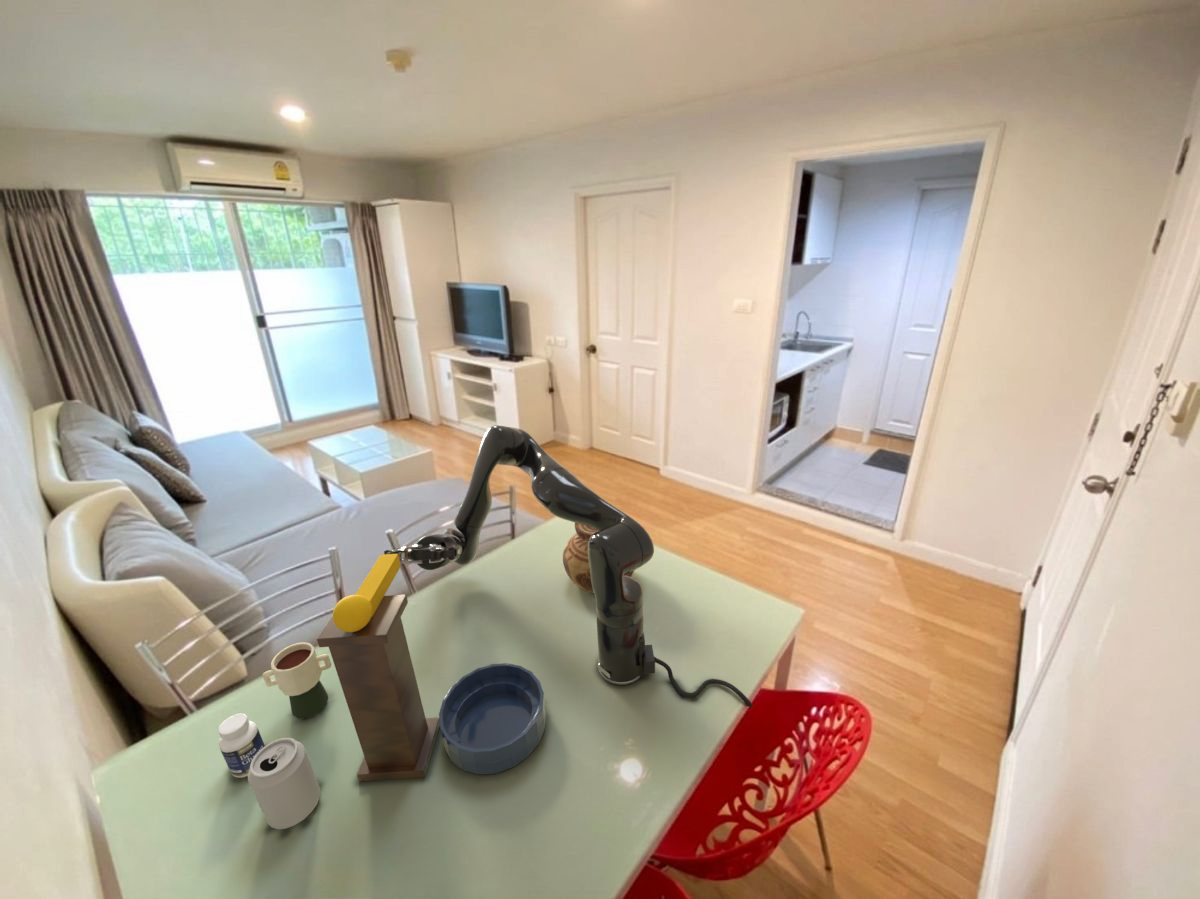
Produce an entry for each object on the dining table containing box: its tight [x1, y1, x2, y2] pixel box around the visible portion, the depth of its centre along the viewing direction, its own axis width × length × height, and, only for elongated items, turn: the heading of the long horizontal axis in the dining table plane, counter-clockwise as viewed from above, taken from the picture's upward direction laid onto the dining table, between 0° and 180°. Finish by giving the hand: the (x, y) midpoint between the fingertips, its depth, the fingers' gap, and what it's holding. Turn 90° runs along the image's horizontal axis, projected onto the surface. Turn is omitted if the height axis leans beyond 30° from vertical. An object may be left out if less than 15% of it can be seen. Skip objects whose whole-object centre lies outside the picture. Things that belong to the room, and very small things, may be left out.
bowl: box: [438, 662, 547, 775], centre depth 89 cm, size 18×18×6 cm
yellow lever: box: [332, 553, 402, 632], centre depth 77 cm, size 5×18×5 cm, turn 2°
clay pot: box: [562, 522, 635, 594], centre depth 125 cm, size 19×19×20 cm
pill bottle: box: [217, 713, 266, 779], centre depth 84 cm, size 5×5×10 cm
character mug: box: [262, 641, 332, 720], centre depth 93 cm, size 11×7×13 cm, turn 113°
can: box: [247, 737, 322, 830], centre depth 76 cm, size 8×8×12 cm
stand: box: [316, 594, 440, 782], centre depth 81 cm, size 11×10×30 cm
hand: (410, 557), depth 95 cm, fingers open, 8 cm apart
